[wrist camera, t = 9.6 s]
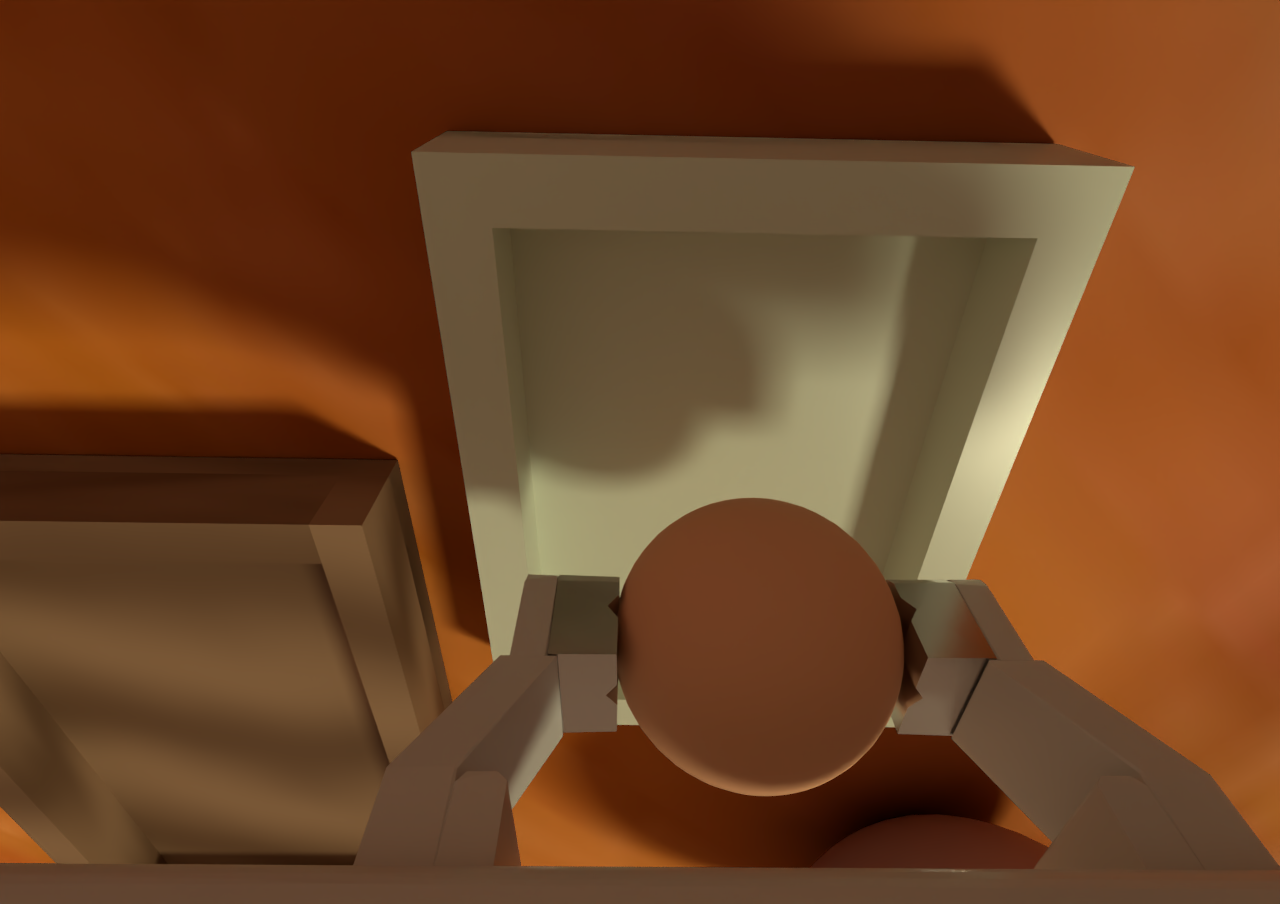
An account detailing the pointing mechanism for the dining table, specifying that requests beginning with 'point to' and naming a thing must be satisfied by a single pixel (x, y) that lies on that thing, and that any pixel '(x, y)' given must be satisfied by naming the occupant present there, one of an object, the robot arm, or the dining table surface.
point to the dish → (207, 655)
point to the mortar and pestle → (933, 845)
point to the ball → (759, 646)
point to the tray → (746, 335)
